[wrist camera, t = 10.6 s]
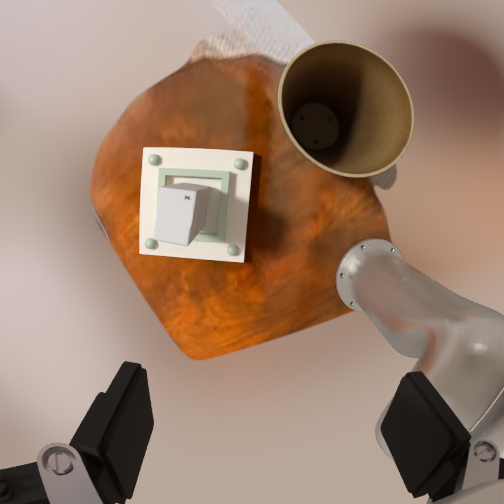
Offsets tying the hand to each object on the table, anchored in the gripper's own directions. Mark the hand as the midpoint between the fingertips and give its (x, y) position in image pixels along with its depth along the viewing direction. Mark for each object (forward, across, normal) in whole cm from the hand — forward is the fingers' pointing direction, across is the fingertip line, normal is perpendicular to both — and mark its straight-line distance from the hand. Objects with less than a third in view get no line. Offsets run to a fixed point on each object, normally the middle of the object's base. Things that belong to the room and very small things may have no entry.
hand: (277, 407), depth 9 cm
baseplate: (+36, +9, -3) cm, 38 cm away
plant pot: (+36, -8, -16) cm, 41 cm away
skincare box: (+35, +9, -3) cm, 36 cm away
